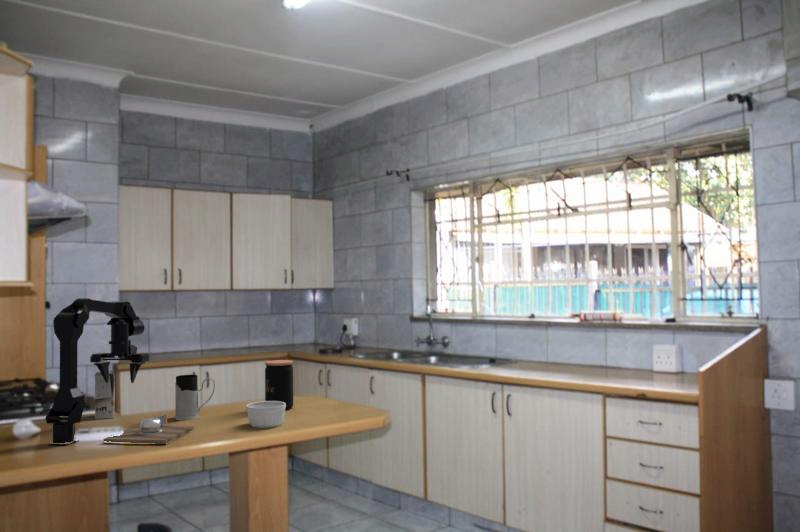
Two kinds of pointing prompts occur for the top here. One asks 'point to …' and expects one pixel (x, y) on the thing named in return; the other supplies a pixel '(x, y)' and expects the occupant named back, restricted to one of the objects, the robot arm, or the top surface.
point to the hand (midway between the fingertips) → (119, 382)
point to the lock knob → (153, 424)
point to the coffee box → (104, 396)
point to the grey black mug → (187, 397)
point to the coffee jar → (279, 382)
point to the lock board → (151, 435)
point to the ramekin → (266, 413)
